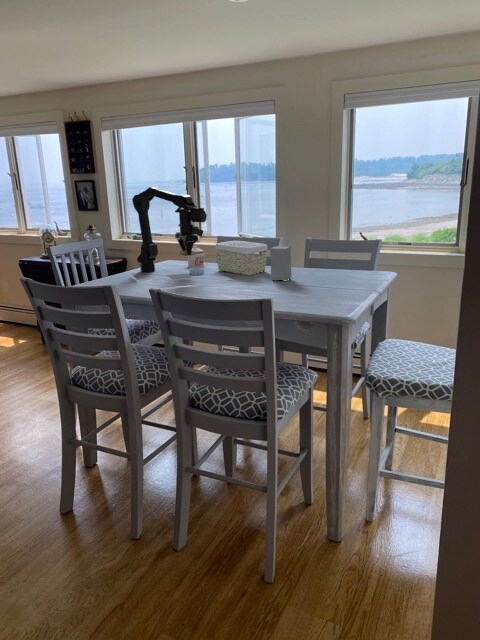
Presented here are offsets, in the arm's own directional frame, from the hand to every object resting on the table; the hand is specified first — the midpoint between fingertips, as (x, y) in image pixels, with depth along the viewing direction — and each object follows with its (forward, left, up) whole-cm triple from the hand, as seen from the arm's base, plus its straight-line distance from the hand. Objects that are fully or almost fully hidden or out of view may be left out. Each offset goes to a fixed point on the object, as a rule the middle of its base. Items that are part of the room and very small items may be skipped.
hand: (187, 254), depth 231 cm
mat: (-5, -1, -11) cm, 12 cm away
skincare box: (+36, -29, -11) cm, 48 cm away
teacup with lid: (+14, +25, -11) cm, 31 cm away
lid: (0, 0, 0) cm, 0 cm away
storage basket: (+30, 0, -12) cm, 32 cm away
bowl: (+5, +2, -11) cm, 13 cm away
